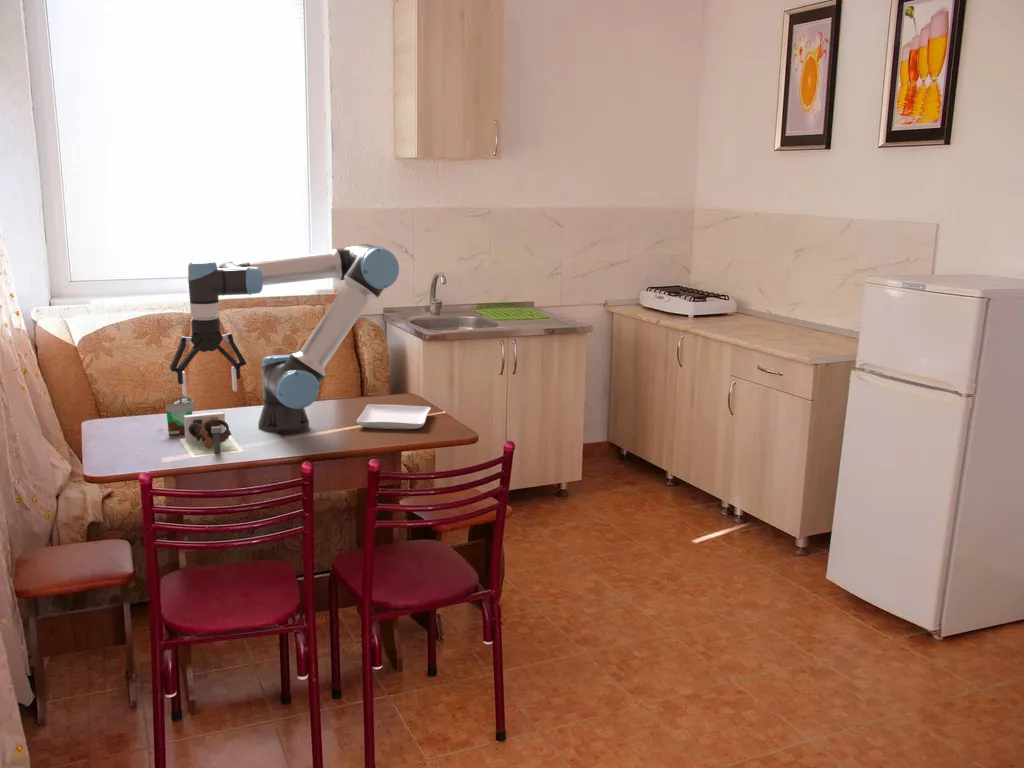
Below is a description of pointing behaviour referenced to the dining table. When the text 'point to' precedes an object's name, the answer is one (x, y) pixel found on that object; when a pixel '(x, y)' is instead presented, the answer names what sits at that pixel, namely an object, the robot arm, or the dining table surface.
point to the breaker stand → (198, 447)
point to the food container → (178, 415)
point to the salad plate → (393, 416)
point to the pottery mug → (208, 431)
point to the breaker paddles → (201, 421)
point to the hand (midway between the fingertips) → (210, 392)
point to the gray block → (216, 438)
